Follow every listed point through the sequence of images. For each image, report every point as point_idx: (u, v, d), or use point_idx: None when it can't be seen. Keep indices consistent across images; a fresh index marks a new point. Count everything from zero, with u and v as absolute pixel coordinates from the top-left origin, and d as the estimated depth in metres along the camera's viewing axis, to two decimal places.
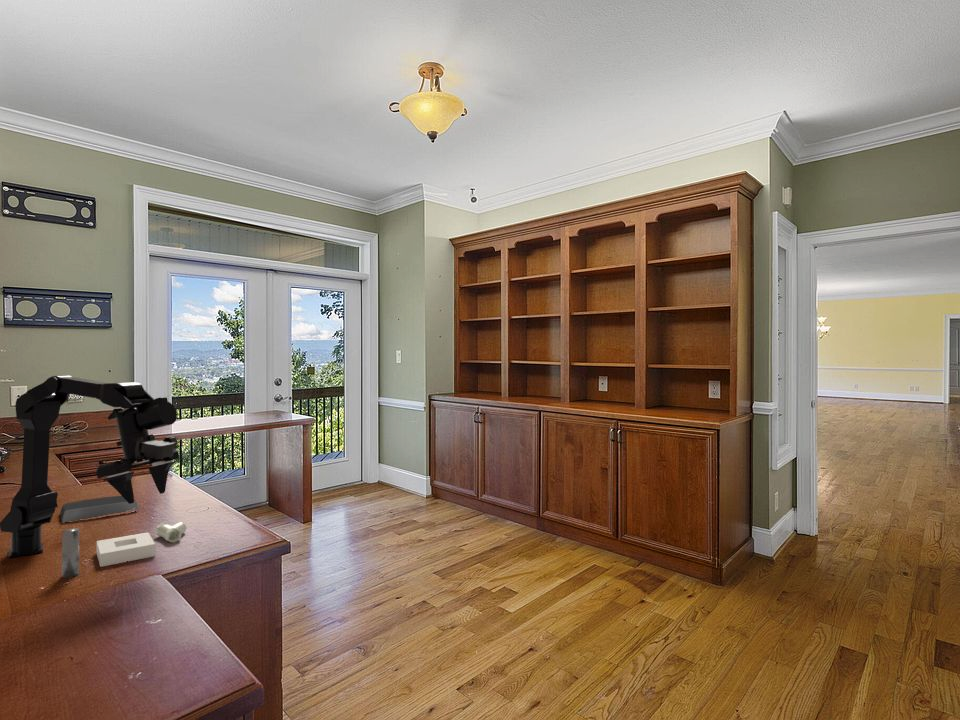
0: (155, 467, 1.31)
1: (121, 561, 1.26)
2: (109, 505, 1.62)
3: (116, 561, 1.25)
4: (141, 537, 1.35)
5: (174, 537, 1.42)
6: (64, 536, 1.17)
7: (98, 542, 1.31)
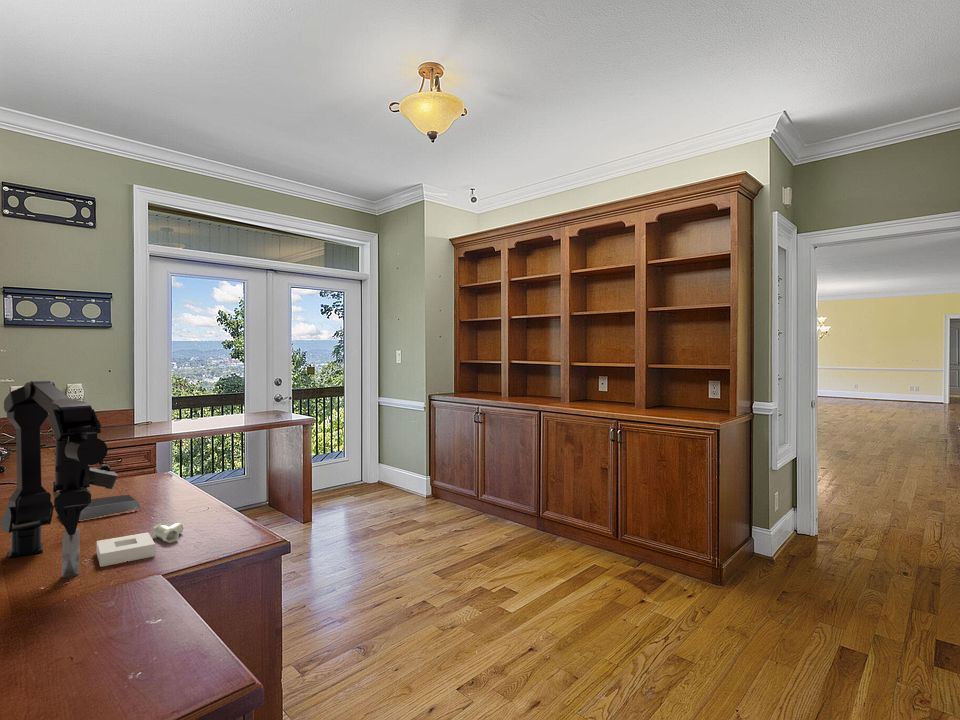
0: None
1: (121, 561, 1.26)
2: (111, 505, 1.63)
3: (116, 561, 1.25)
4: (141, 537, 1.35)
5: (171, 537, 1.42)
6: (64, 536, 1.17)
7: (98, 542, 1.31)
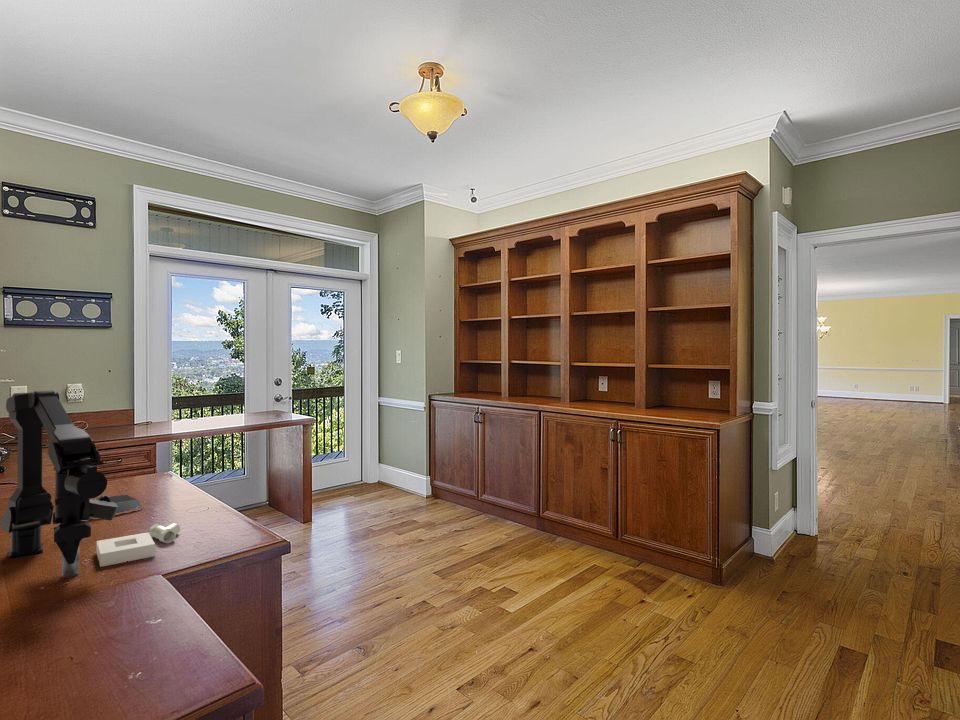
0: None
1: (121, 561, 1.26)
2: None
3: (116, 561, 1.25)
4: (141, 537, 1.35)
5: (168, 538, 1.42)
6: None
7: (98, 542, 1.31)
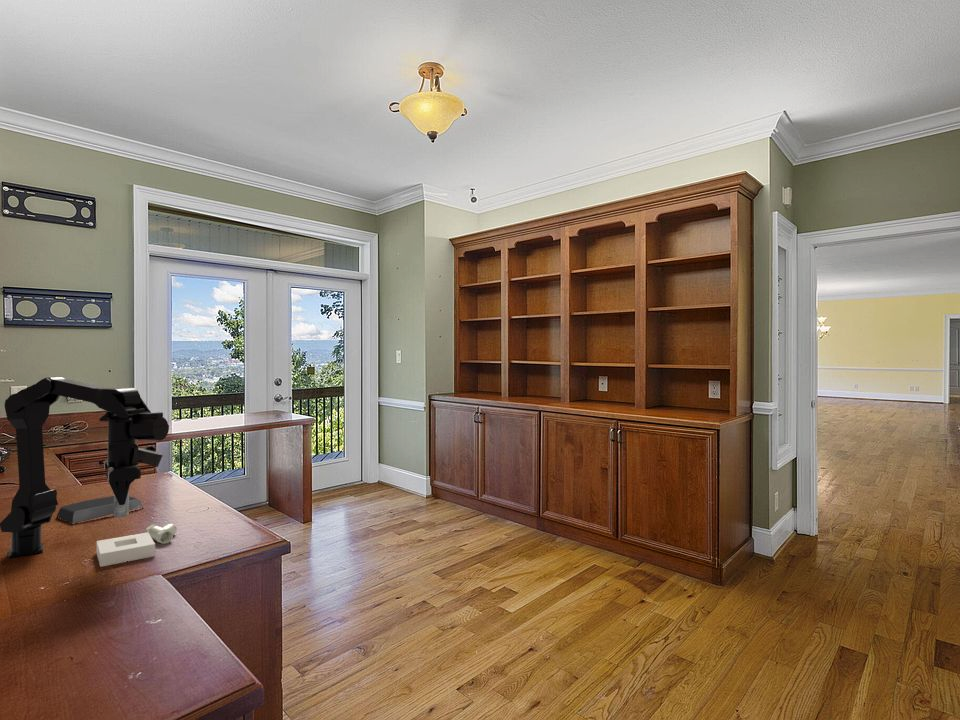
0: None
1: (121, 561, 1.26)
2: None
3: (116, 561, 1.25)
4: (141, 537, 1.35)
5: (165, 538, 1.41)
6: None
7: (98, 542, 1.31)
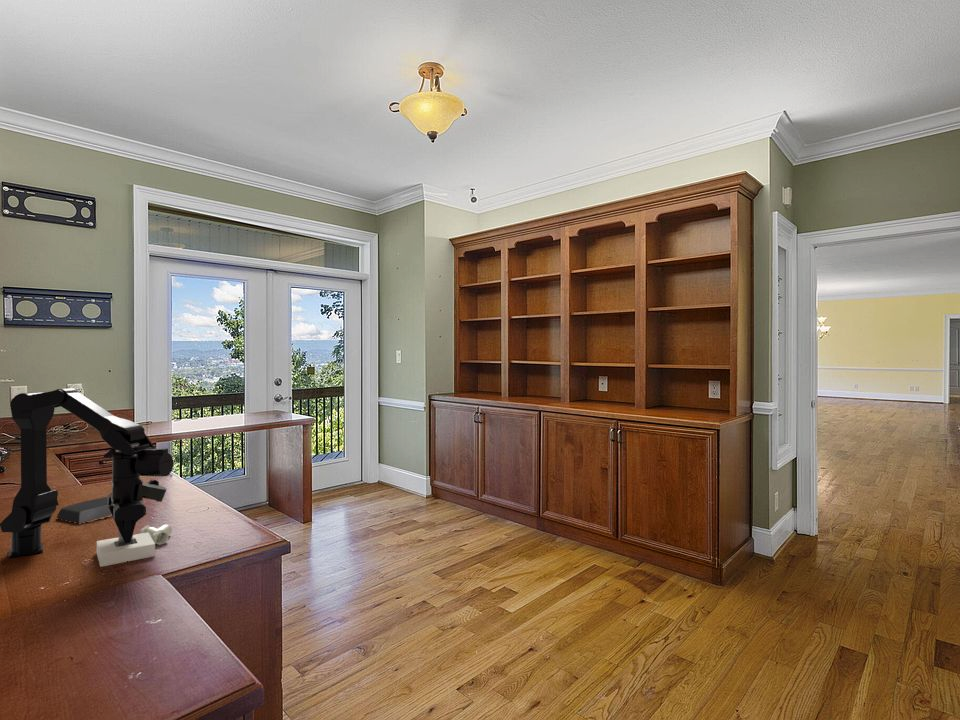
0: None
1: (121, 561, 1.26)
2: None
3: (116, 561, 1.25)
4: (141, 537, 1.35)
5: (161, 539, 1.40)
6: None
7: (98, 542, 1.31)
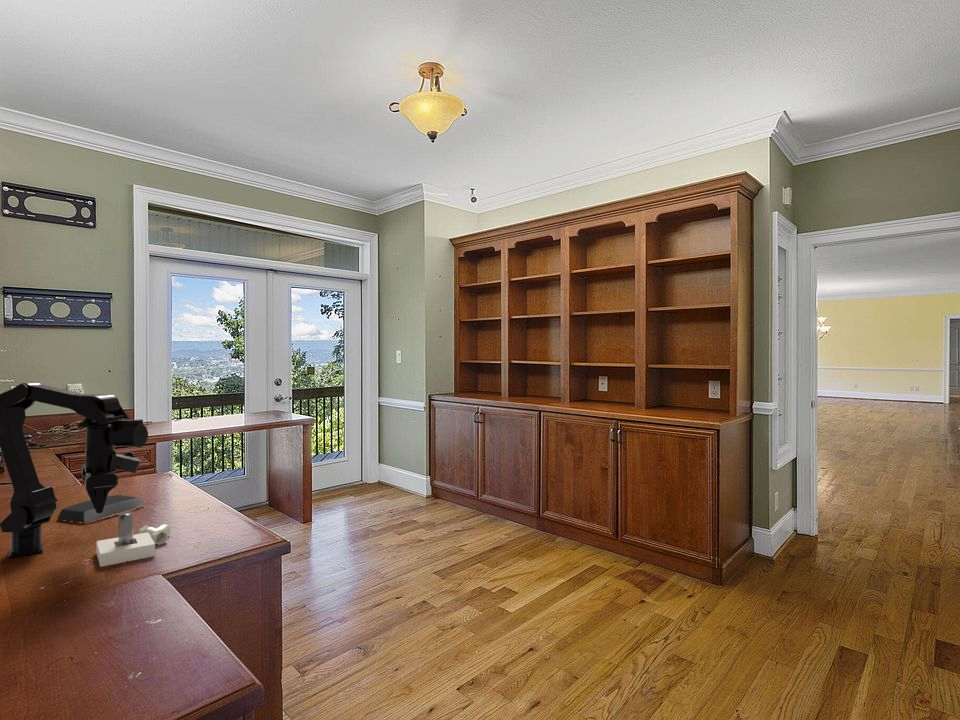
0: None
1: (121, 561, 1.26)
2: (121, 503, 1.65)
3: (116, 561, 1.25)
4: (141, 537, 1.35)
5: (160, 539, 1.40)
6: (120, 519, 1.30)
7: (98, 542, 1.31)
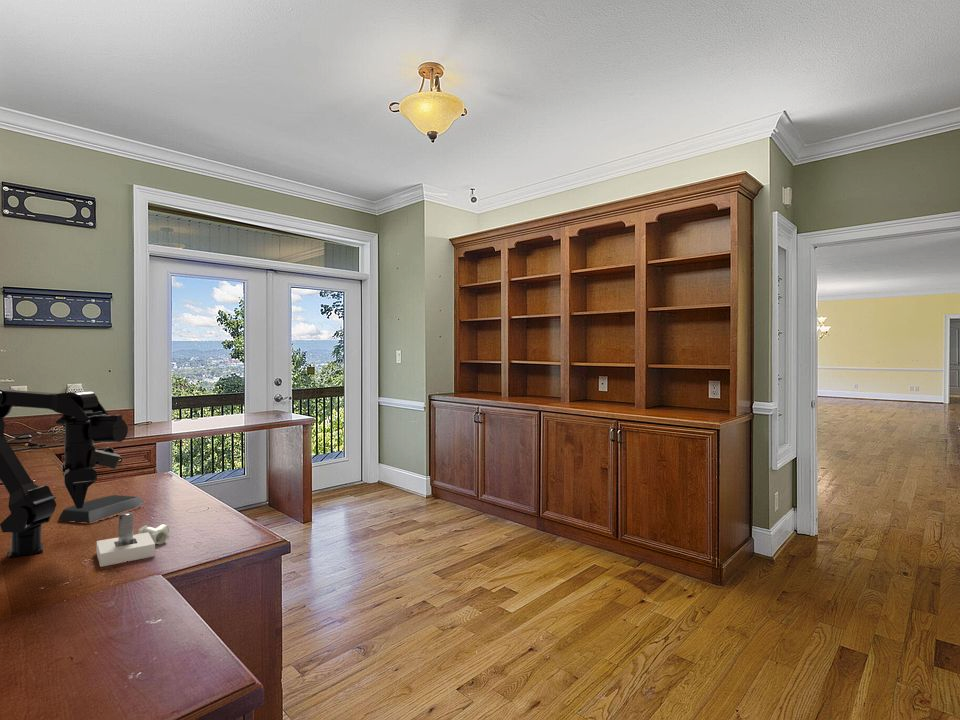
0: None
1: (121, 561, 1.26)
2: (123, 502, 1.66)
3: (116, 561, 1.25)
4: (141, 537, 1.35)
5: (159, 539, 1.41)
6: (120, 519, 1.30)
7: (98, 542, 1.31)
